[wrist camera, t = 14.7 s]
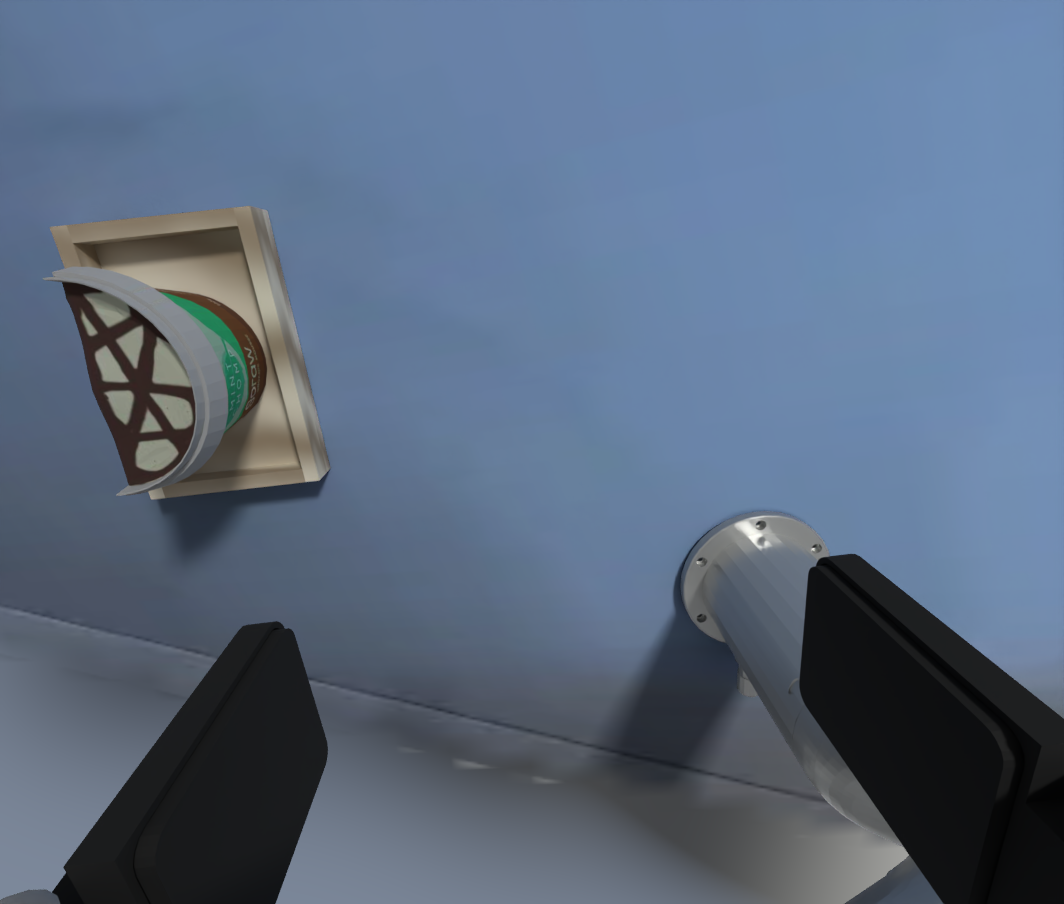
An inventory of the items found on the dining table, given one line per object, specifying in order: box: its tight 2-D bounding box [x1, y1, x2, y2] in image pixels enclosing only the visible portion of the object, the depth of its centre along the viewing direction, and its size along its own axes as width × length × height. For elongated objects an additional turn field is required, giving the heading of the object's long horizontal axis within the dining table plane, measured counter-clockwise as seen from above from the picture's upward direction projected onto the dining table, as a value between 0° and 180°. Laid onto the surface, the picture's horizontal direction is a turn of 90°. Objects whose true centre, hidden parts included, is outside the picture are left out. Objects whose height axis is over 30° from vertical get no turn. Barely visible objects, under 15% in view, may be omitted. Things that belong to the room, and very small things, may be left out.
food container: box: [43, 267, 267, 496], centre depth 31 cm, size 12×6×10 cm, turn 3°
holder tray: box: [50, 206, 330, 500], centre depth 36 cm, size 18×12×2 cm, turn 6°
